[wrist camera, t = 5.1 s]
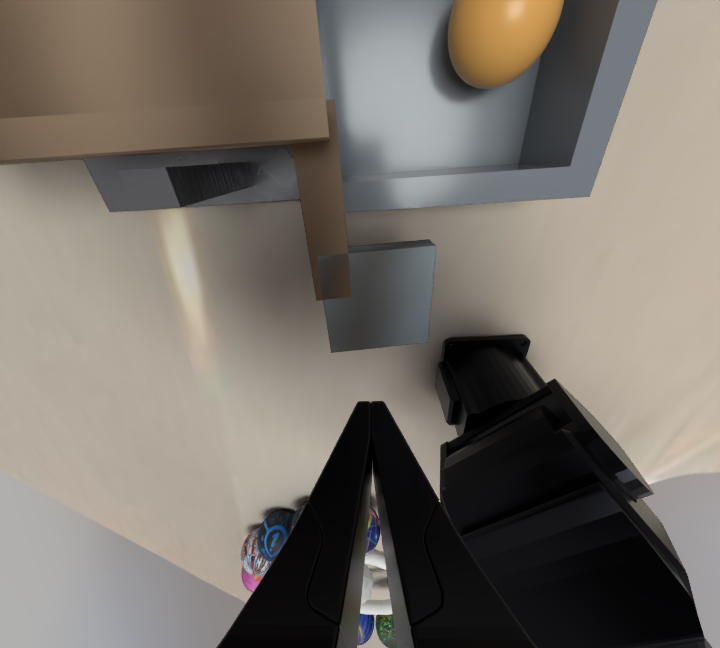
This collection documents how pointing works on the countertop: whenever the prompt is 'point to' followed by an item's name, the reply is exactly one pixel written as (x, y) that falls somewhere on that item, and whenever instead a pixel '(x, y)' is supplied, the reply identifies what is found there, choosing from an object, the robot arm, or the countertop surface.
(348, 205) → the grey open tray
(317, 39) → the tipping lever
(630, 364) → the countertop surface
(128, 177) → the lever stand
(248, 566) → the decorated egg ring holder
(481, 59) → the ball
